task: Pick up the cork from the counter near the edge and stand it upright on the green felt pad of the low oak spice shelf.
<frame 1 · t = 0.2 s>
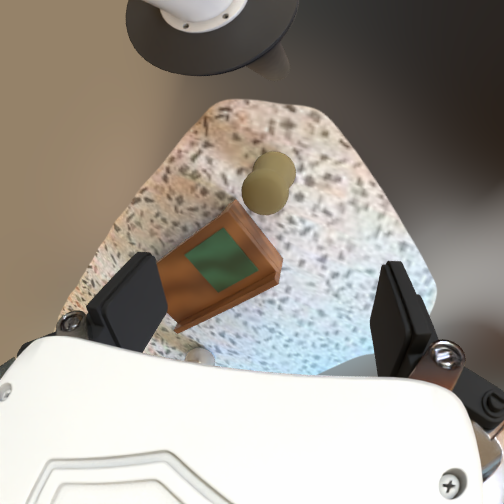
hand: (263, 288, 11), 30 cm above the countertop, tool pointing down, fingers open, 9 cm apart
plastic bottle: (203, 352, 62), on the countertop
shelf: (209, 262, 49), on the countertop
cork: (274, 172, 39), on the countertop
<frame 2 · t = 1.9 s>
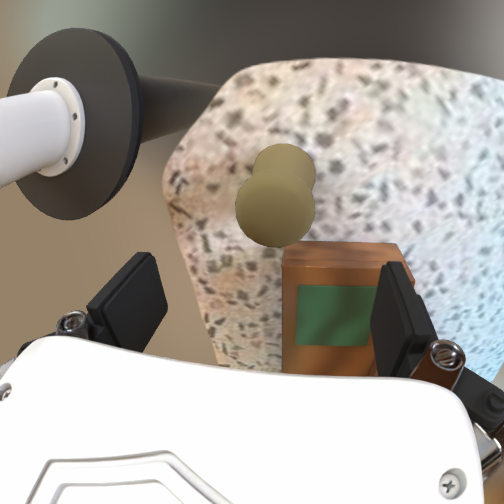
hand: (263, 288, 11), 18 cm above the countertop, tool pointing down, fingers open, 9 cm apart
shelf: (333, 320, 34), on the countertop
cork: (284, 173, 27), on the countertop
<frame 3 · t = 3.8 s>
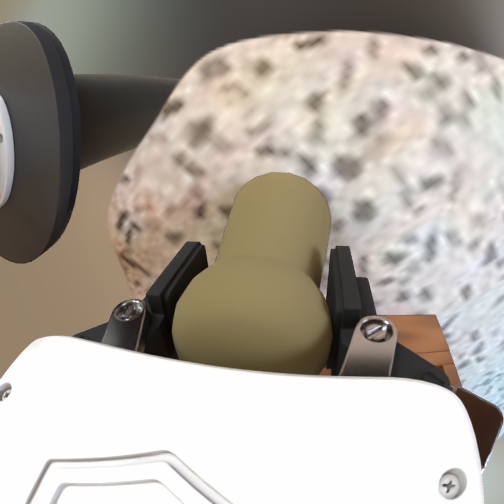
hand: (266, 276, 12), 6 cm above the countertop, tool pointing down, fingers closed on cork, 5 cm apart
shelf: (341, 397, 25), on the countertop
cork: (280, 220, 17), on the countertop, touching gripper
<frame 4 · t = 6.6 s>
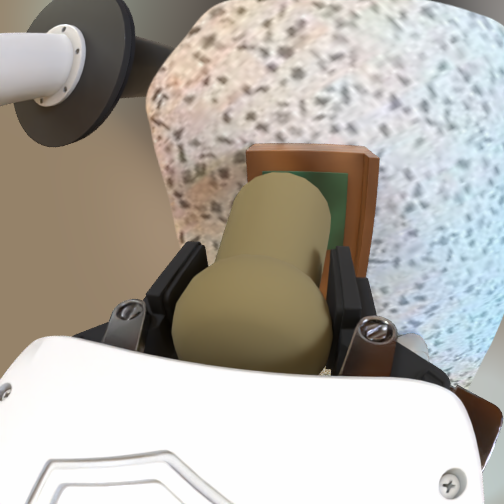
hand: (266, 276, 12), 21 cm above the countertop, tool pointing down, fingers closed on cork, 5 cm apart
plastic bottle: (404, 341, 40), on the countertop
shelf: (308, 235, 34), on the countertop
cork: (280, 220, 17), point 15 cm above the countertop, touching gripper
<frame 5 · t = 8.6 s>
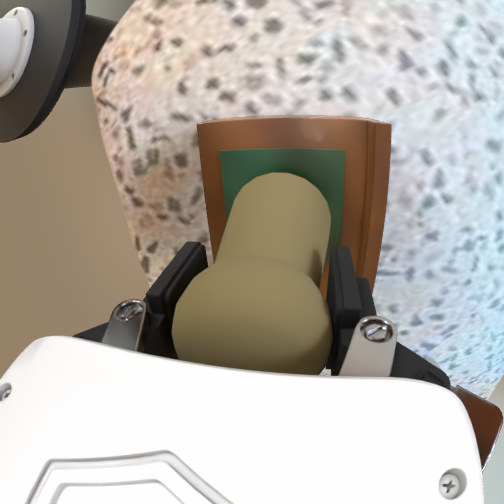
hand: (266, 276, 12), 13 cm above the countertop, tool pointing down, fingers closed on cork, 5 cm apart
shelf: (294, 240, 26), on the countertop
cork: (280, 220, 17), point 7 cm above the countertop, touching gripper
when the fingers open (11 cm above the countertop, at t = 9.7 s): cork stays where it is, resting on shelf.
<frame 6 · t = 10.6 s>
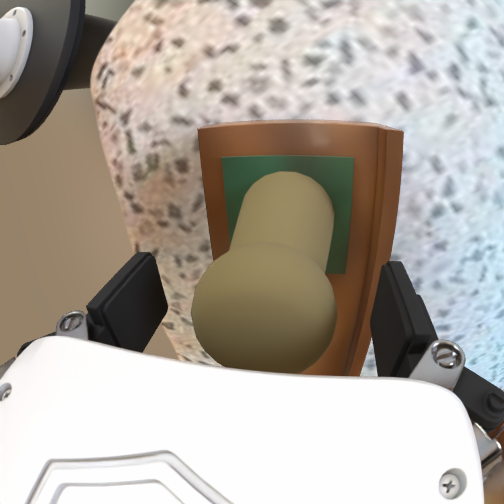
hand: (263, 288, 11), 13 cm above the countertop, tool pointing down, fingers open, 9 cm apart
shelf: (299, 249, 25), on the countertop
cork: (287, 216, 18), point 5 cm above the countertop, touching shelf
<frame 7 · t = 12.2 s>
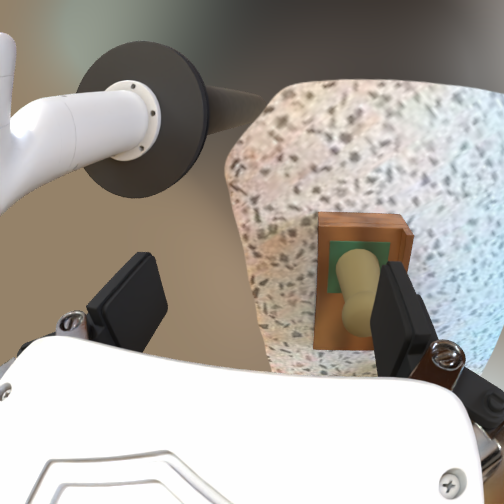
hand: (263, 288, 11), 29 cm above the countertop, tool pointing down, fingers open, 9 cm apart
shelf: (354, 279, 43), on the countertop
cork: (357, 268, 37), point 5 cm above the countertop, touching shelf
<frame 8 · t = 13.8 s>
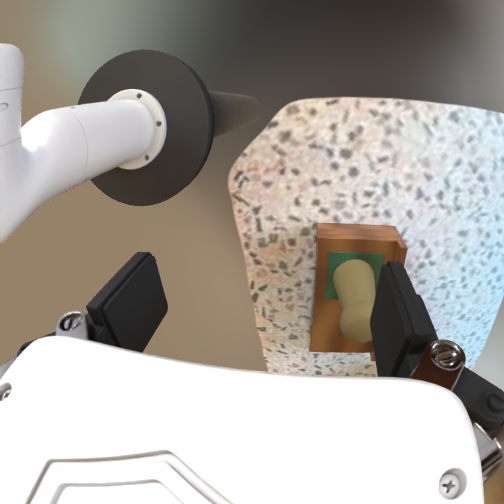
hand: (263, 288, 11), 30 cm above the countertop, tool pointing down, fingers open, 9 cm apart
shelf: (349, 285, 46), on the countertop
cork: (353, 277, 39), point 5 cm above the countertop, touching shelf
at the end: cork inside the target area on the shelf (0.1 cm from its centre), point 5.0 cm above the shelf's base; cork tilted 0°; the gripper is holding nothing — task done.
